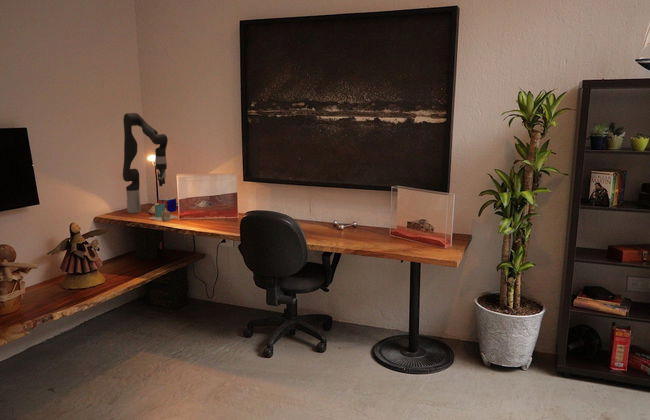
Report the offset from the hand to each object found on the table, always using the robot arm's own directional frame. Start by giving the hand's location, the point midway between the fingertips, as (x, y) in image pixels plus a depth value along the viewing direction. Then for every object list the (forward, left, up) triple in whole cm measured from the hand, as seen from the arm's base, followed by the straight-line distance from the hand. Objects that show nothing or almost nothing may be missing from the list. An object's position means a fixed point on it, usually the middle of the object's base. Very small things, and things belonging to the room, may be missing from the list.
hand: (162, 185), depth 374 cm
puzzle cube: (-17, +15, -24) cm, 33 cm away
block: (+10, -6, -24) cm, 27 cm away
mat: (0, -1, -24) cm, 24 cm away
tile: (-5, 0, -24) cm, 24 cm away
